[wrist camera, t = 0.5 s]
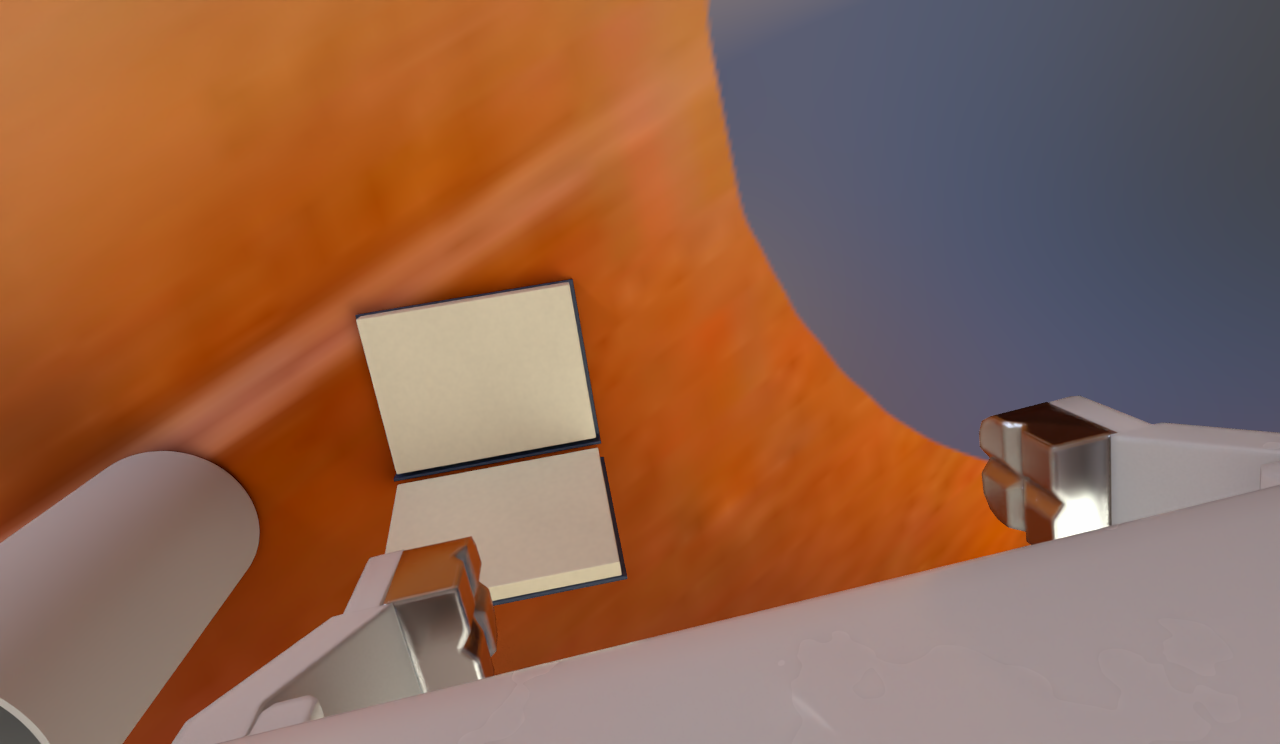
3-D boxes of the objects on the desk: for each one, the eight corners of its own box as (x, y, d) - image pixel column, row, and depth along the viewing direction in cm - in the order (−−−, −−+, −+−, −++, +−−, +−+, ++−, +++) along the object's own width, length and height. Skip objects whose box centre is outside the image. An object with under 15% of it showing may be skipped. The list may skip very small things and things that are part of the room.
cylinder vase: (228, 616, 59) (17, 924, 35) (63, 560, 56) (-290, 854, 32) (288, 486, 57) (105, 722, 33) (119, 420, 54) (-217, 626, 30)
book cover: (368, 612, 45) (376, 629, 46) (624, 561, 47) (627, 579, 47) (394, 482, 56) (399, 498, 57) (601, 443, 57) (603, 459, 58)
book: (356, 314, 54) (350, 319, 52) (572, 278, 55) (573, 282, 54) (397, 473, 58) (394, 481, 56) (599, 435, 59) (601, 443, 57)
